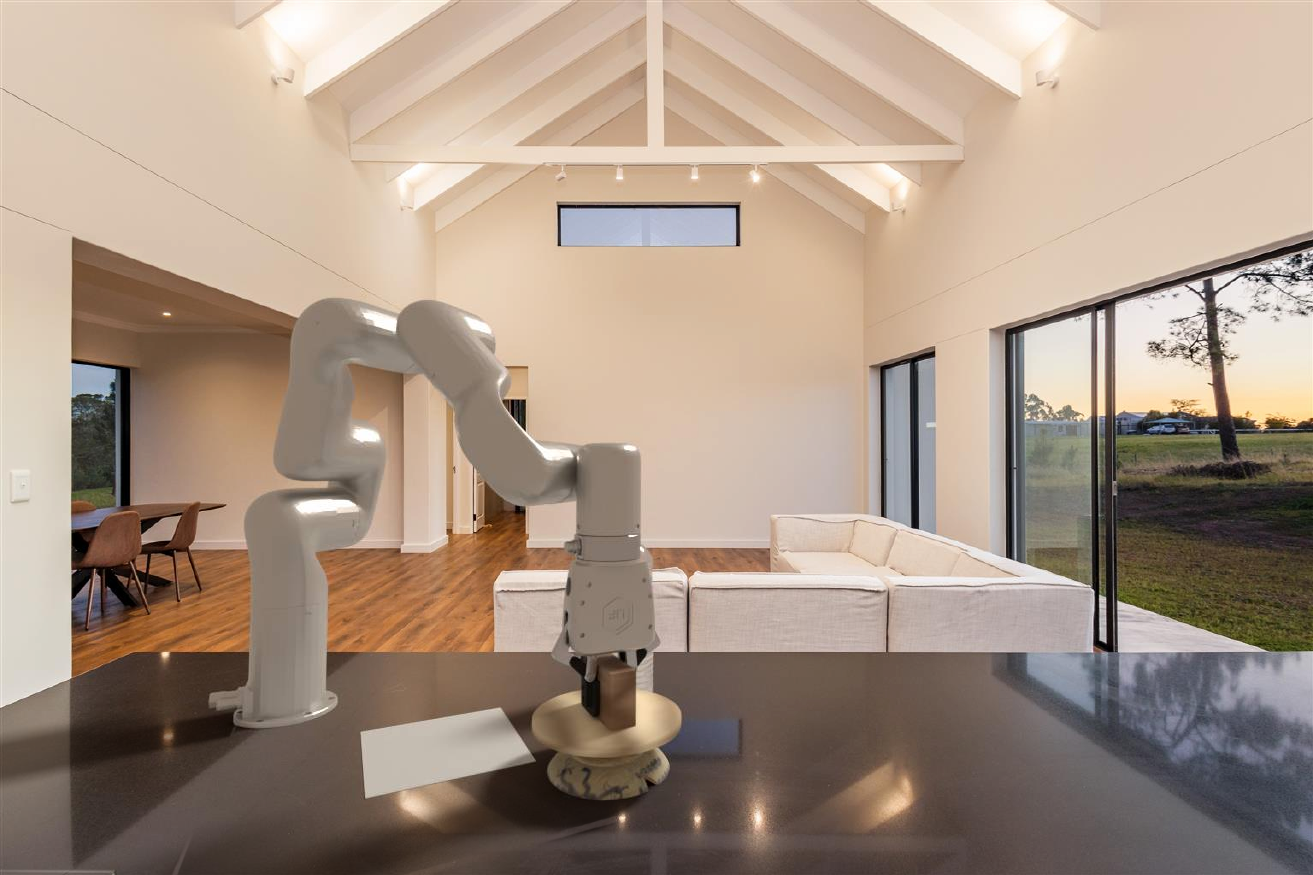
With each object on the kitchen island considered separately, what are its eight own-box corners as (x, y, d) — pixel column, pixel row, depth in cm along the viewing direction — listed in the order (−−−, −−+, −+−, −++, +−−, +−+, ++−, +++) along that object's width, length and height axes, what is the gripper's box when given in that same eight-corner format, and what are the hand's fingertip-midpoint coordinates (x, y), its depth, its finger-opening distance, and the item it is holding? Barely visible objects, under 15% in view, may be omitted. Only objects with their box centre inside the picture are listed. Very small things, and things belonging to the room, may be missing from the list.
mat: (365, 803, 64) (365, 798, 64) (360, 736, 80) (360, 731, 80) (535, 765, 72) (535, 760, 72) (500, 711, 88) (500, 707, 88)
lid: (559, 771, 60) (560, 697, 60) (515, 709, 75) (515, 650, 75) (709, 737, 67) (709, 671, 68) (642, 687, 83) (642, 633, 83)
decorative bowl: (582, 739, 81) (514, 793, 67) (583, 710, 81) (515, 758, 67) (691, 761, 75) (640, 826, 61) (692, 730, 75) (641, 787, 61)
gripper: (549, 557, 65) (547, 736, 64) (685, 548, 72) (685, 709, 72) (530, 549, 72) (528, 711, 71) (656, 541, 79) (655, 688, 78)
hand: (607, 708), depth 71 cm, fingers closed on lid, 3 cm apart
